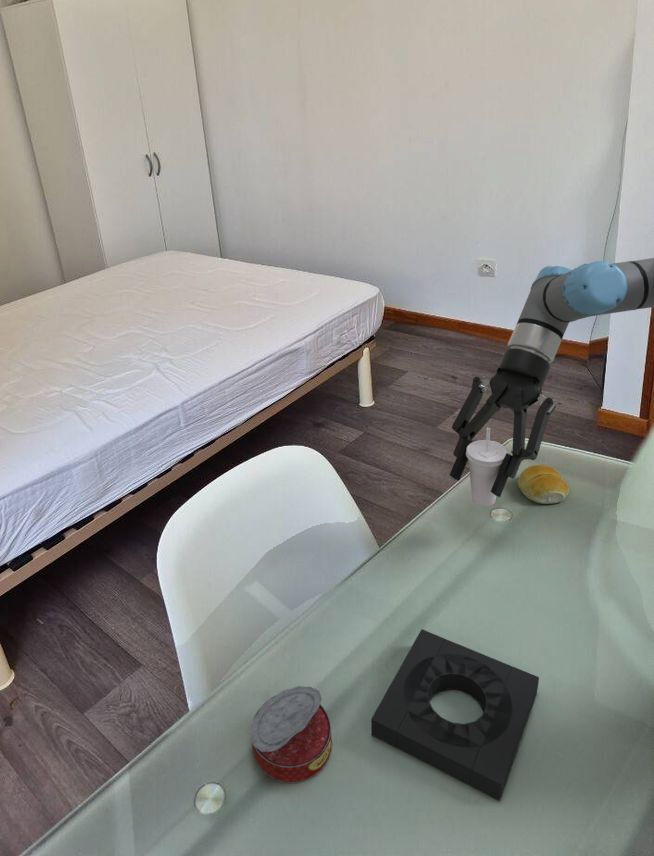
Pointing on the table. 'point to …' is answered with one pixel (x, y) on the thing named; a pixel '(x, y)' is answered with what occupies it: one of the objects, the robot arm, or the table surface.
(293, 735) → the canned food
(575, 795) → the table surface
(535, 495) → the bread roll
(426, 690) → the socket pad
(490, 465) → the smoothie
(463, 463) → the robot arm
